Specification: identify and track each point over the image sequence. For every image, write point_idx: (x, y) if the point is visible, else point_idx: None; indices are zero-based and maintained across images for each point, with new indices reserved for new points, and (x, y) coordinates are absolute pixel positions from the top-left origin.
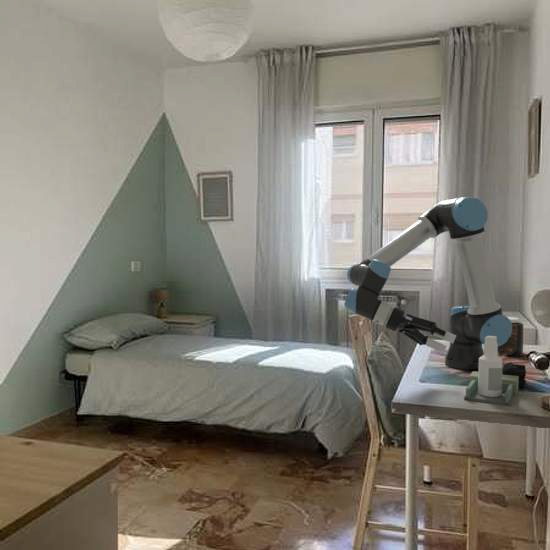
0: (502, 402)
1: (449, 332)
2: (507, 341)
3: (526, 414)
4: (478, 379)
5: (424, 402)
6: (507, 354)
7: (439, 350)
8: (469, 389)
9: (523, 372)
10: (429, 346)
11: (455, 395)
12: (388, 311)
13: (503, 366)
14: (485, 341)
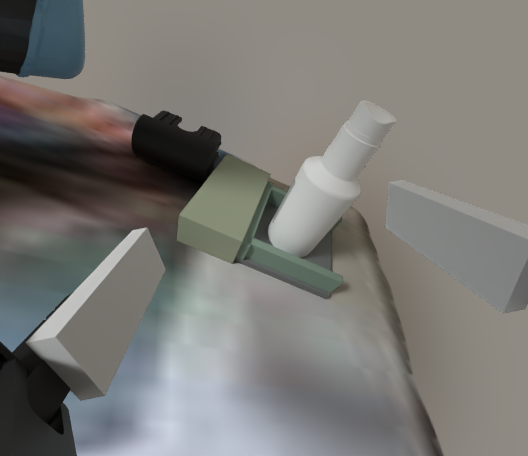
0: (330, 235)
1: (436, 193)
2: None
3: (361, 225)
4: (310, 238)
5: (400, 423)
6: None
7: (156, 286)
8: (342, 276)
9: (220, 139)
10: (119, 353)
11: (297, 312)
12: None
13: (136, 136)
14: (378, 138)
